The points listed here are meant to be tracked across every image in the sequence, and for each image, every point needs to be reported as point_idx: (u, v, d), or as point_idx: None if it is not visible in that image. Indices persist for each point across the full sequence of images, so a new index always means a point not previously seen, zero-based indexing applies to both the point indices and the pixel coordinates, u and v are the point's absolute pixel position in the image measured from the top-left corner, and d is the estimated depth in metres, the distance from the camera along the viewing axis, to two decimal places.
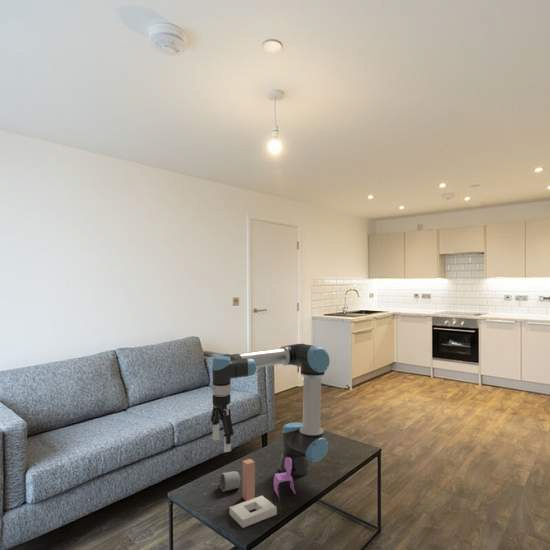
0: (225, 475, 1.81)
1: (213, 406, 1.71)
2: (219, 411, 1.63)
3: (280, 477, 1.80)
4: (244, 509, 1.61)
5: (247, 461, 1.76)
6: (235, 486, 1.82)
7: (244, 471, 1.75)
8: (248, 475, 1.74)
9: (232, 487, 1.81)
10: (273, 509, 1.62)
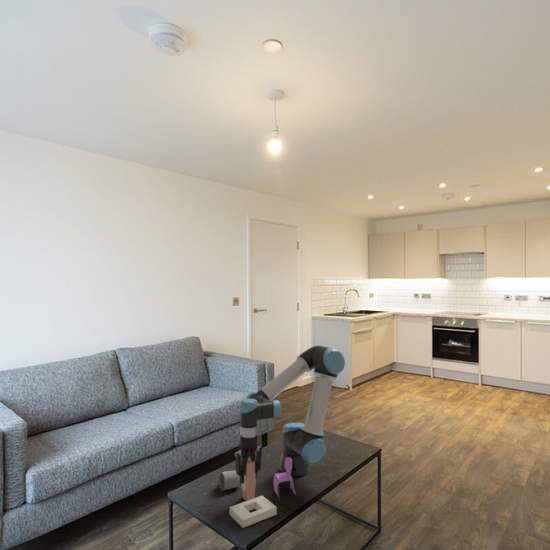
0: (224, 474, 1.82)
1: None
2: None
3: (280, 477, 1.80)
4: (244, 509, 1.61)
5: (247, 461, 1.76)
6: (234, 485, 1.83)
7: None
8: (248, 475, 1.74)
9: (231, 486, 1.82)
10: (273, 509, 1.62)
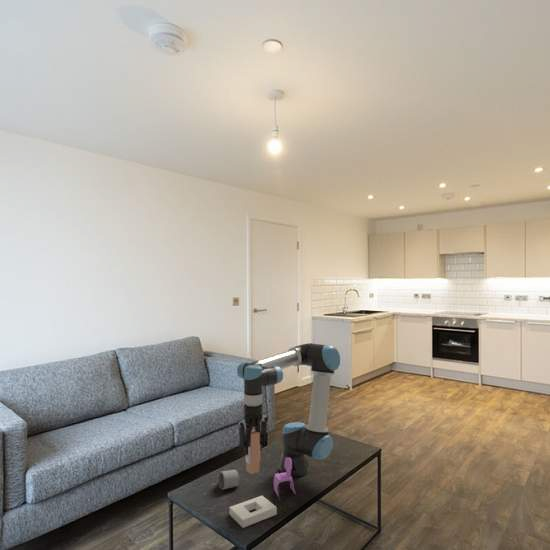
0: (224, 473, 1.83)
1: None
2: None
3: (280, 477, 1.80)
4: (244, 509, 1.61)
5: (251, 431, 1.64)
6: (234, 484, 1.83)
7: None
8: (252, 446, 1.62)
9: (231, 485, 1.82)
10: (273, 509, 1.62)
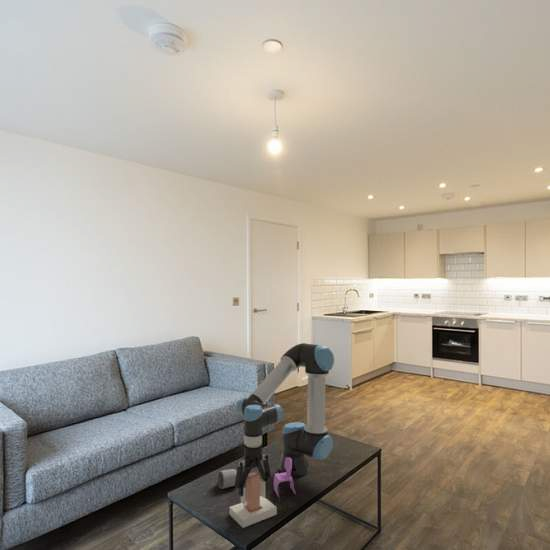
0: (223, 473, 1.84)
1: None
2: None
3: (280, 477, 1.80)
4: (244, 509, 1.61)
5: (252, 475, 1.64)
6: (233, 484, 1.84)
7: (248, 485, 1.63)
8: (252, 490, 1.61)
9: (230, 484, 1.83)
10: (273, 509, 1.62)
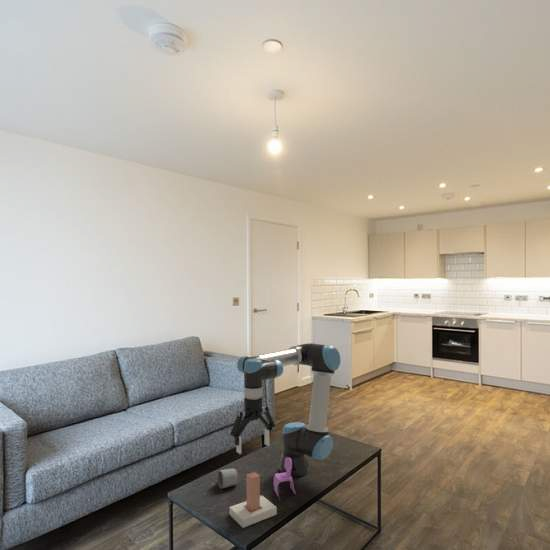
0: (223, 472, 1.84)
1: None
2: None
3: (280, 477, 1.80)
4: (244, 509, 1.61)
5: (252, 475, 1.64)
6: (233, 483, 1.84)
7: (248, 485, 1.63)
8: (253, 490, 1.61)
9: (230, 484, 1.84)
10: (273, 509, 1.62)
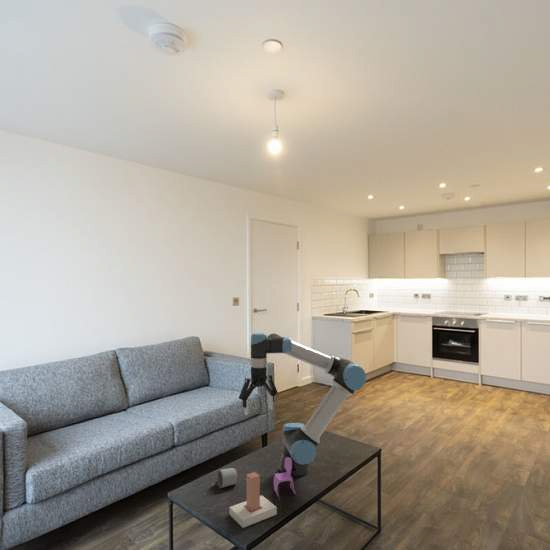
0: (222, 472, 1.85)
1: None
2: None
3: (280, 477, 1.80)
4: (244, 509, 1.61)
5: (252, 475, 1.64)
6: (232, 482, 1.85)
7: (248, 485, 1.63)
8: (253, 490, 1.61)
9: (229, 483, 1.84)
10: (273, 509, 1.62)
